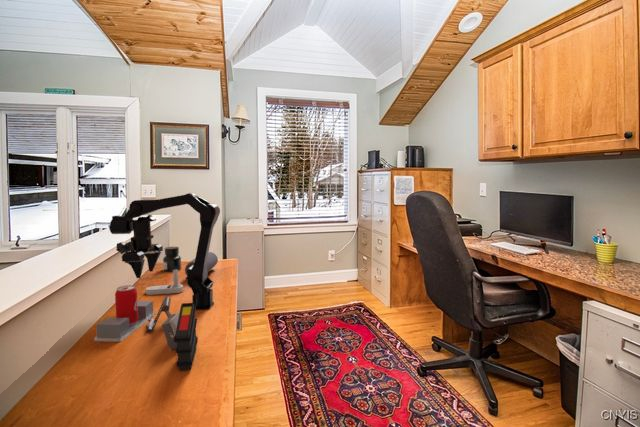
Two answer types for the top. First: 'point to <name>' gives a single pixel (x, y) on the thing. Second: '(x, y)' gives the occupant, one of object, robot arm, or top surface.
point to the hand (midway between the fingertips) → (145, 274)
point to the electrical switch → (171, 329)
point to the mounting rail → (132, 328)
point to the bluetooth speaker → (211, 262)
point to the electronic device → (166, 287)
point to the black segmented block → (186, 336)
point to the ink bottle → (171, 259)
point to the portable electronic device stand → (163, 308)
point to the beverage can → (127, 303)
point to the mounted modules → (122, 322)
